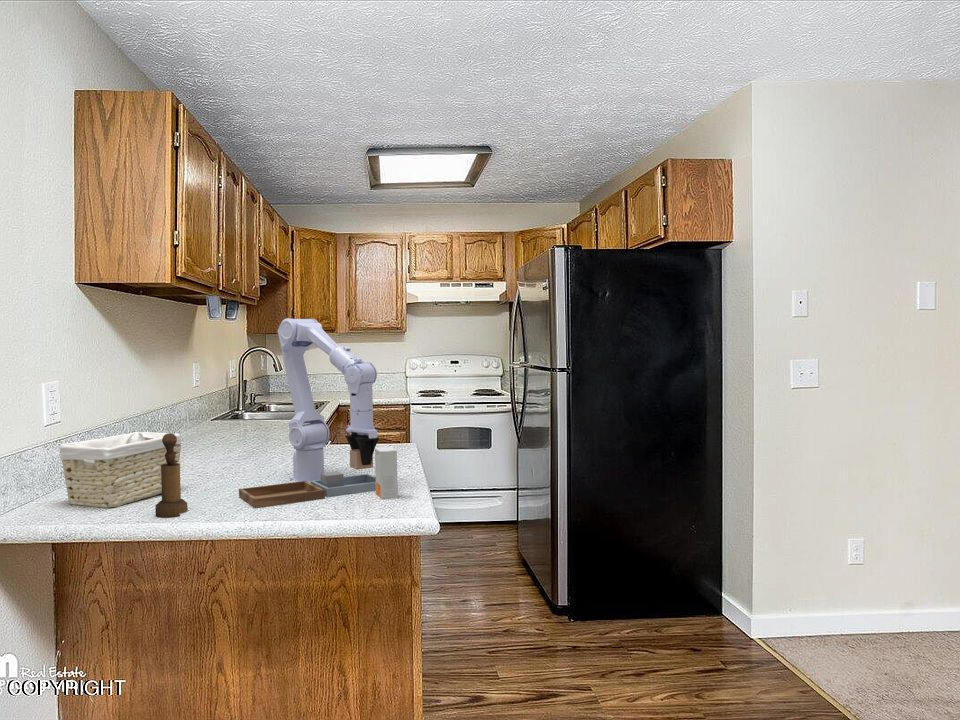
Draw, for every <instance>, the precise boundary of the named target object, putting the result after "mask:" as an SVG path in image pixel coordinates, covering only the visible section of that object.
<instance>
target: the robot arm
mask: <svg viewBox="0 0 960 720" xmlns="http://www.w3.org/2000/svg"><path fill="white" fill-rule="evenodd" d="M277 335H278V339H279V344H280V348H281V356H282V360H283V364H284V370H285V374H286V379H287V383H288V387H289V392H290V397H291V400H292V407H293V410H294V416H293V417H292V419H290V421H289V422H288V427H289V435H288V437H289V438H288V439H289V442H290V444H291V446H292V447H293V450H295V451H294V453H293V455H292V467H293V469H292V471H293V474H292V475H293V476H290V478H289V479H291V481H292V480H293V481H294V482H300V481H307V482H309V483H310V481H314V480H320V473H325V461H324V460H325V459H324V458H325V457H324V456H325V455H324V448H325V447H326V444H327V443H328V441H329V440H330V429H329V427H328V424H327V423H326V421H325V416H324V415H323V414H321V413H319V412H318V411H317V410H316V407H315V402H314V399H313V394H312V393H313V392H312V390H311V386H310V380H309V376H308V371H307V368H306V363H305V359H304V358H305V357H304V355H305V353H306V351H309V349H310V348H311V346H313V345H315V346H316V347H318V348H319V349H320V350H321V351H322V352H324V353H325V354H327V356H329V362H330V364H331V365H332V366H334V368H336V369H337V370H338V371H339V372H340V373H341V374H343V377H344V381H345V383H346V385H347V391H348V393H349V409H350V411H349V415H350V416H349V417H350V421H349V422H350V424H347V425H346V426H347V428H346V429H345V430H346V432H347V433H351V434H347V435H345V438H346V441H347V442H348V444H349V447H350V450H354V449H360V455H361V462H362V465H371V462H372V457H373V458H374V454H375V448H377V444H378V442H379V441H380V437H378V429H376V428H375V427H374V406H373V405H374V403H373V402H374V401H373V400H374V399H373V397H374V396H373V384H375V382H376V380H377V377H378V372H377V368H376V366H375V365H374V364H373V363H372V362H371V361H370V362H368V361H367V362H365V361H363V359H362V358H361V357H360V356H359V357H358V356H357V355H356V354H355V353H354V352H353V351H351V347H350V346H348V345H347V346H345V345H338V344H337V343H336V341H334V340H333V338H332V337H331V336H330V335H329V334H328V333H327V332H325V330H324V329H323V325H322V323H320V322H318V320H316V319H315V318H288V317H287V318H284V319H283V320H282V321H281V323H280V324H279V327H278V329H277Z"/></svg>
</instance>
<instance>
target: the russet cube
mask: <svg viewBox="0 0 960 720" xmlns="http://www.w3.org/2000/svg"><path fill="white" fill-rule="evenodd" d="M349 467H350V468H352V469H355V470H364V469H371V468H372V469H373V468H374V456H373V457H372V462H371V465H362V462H361V455H360V449H354V450H351V449H350V450H349Z"/></svg>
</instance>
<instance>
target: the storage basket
mask: <svg viewBox="0 0 960 720" xmlns="http://www.w3.org/2000/svg"><path fill="white" fill-rule="evenodd" d="M165 434H169V432H157V431H155V432H154V431H153V432H152V431H133V432H130V433H123V434H118V435H117V434H116V435H111V436H107V437H106V436H105V437H101V438H94V439H89V440H81V441H75V442H65V443H62V444H61V445H59V447H58V448H59V458H60V460H61V464H62V469H63V475H64V476H63V477H64V479H65V489H66V492H67V498H68V499H67V501H68V503H69V504H71V505H73V506H74V505H75V506H85V507H93V508H103V509H106V508H107V509H108V508H116V507H122V506H123V505H126V504H130V503H134V502H138V501H140V500H143V499H147V498H152V497H154V496H158V495H161V494H162V484H161V465H162V464H167V462H166V458H165V454H166V452H167V450H166V447H165V446H164V444H163V442H162V438H163V436H164V435H165ZM172 434H174V435H175V436H176V437H177V442H176V444H175V446H174V449H173V450H174V453H176V456H175V461H174V463H179V464H180V465H181V463H180V459H181V458H180V457H181V450H182V446H181V444H182V438H181V435H180V433H177V432H176V433H172Z"/></svg>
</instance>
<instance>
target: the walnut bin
mask: <svg viewBox="0 0 960 720" xmlns="http://www.w3.org/2000/svg"><path fill="white" fill-rule="evenodd" d="M238 498H239V499H241V500H242V501H243V502H245V503H246V504H248V505H249V506H250V507H252V508H254V509H260V508H261V509H262V508H267V507H274V506H282V505H283V506H284V505H289V504H290V505H291V504H297V503H302V502H311V501H317V500H325V499H326V497H325V490H323V489H321V488H319V487H317V486H315V485H313V484H311V483H310V482H307V481H300V482H297V481H293V482H286V483H278V484H277V483H275V484H269V485H260V486H253V487H246V488H244V487H243V488H239V489H238Z"/></svg>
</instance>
